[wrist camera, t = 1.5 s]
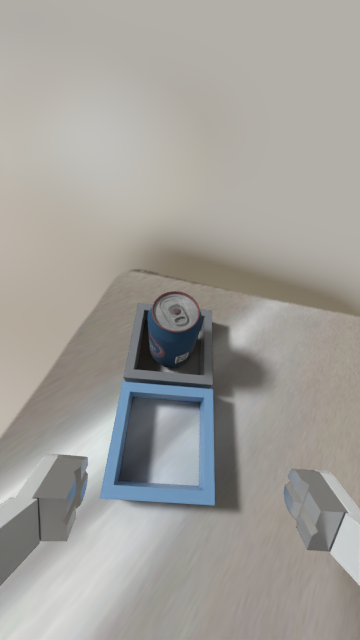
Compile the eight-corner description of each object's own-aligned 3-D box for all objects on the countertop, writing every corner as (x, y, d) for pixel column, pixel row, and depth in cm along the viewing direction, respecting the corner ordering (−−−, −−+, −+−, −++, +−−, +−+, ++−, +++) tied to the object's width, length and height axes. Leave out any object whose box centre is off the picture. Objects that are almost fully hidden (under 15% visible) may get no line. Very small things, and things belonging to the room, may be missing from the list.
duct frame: (207, 320, 40) (211, 310, 37) (208, 498, 27) (214, 505, 24) (139, 314, 39) (137, 303, 36) (106, 492, 26) (99, 498, 23)
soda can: (144, 338, 37) (138, 296, 27) (181, 325, 39) (190, 281, 28) (158, 376, 34) (159, 344, 24) (198, 360, 36) (215, 325, 25)
